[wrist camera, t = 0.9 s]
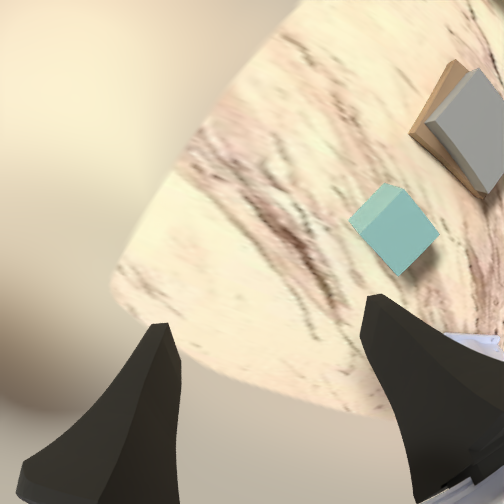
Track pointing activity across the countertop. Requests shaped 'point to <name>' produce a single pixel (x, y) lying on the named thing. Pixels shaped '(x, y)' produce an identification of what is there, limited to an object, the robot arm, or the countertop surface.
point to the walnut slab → (427, 138)
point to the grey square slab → (473, 129)
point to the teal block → (394, 227)
